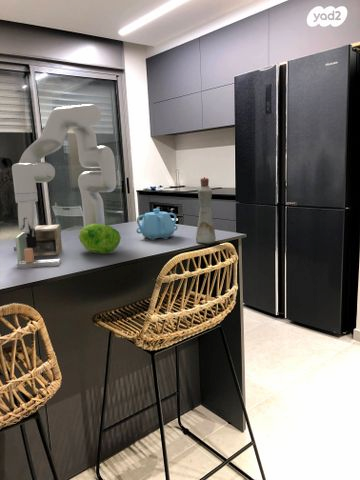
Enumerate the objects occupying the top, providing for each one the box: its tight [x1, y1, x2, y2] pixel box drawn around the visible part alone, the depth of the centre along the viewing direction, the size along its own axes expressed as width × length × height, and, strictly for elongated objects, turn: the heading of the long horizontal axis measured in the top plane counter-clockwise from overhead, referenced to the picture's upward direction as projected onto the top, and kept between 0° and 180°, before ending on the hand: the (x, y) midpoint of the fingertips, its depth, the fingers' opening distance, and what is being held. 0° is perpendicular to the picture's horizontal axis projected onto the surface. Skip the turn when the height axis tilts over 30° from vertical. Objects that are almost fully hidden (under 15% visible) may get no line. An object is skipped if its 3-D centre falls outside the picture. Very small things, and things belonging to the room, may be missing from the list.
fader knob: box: [24, 248, 35, 263], centre depth 138 cm, size 2×3×5 cm
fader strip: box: [16, 258, 61, 269], centre depth 139 cm, size 14×4×2 cm, turn 99°
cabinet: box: [24, 224, 63, 257], centre depth 158 cm, size 12×10×10 cm
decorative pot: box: [136, 208, 179, 241], centre depth 182 cm, size 16×16×14 cm
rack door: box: [13, 231, 27, 264], centre depth 146 cm, size 12×2×10 cm, turn 9°
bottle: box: [195, 176, 217, 245], centre depth 166 cm, size 9×9×28 cm
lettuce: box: [78, 224, 122, 255], centre depth 154 cm, size 13×23×12 cm, turn 44°
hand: (32, 247), depth 145 cm, fingers closed
